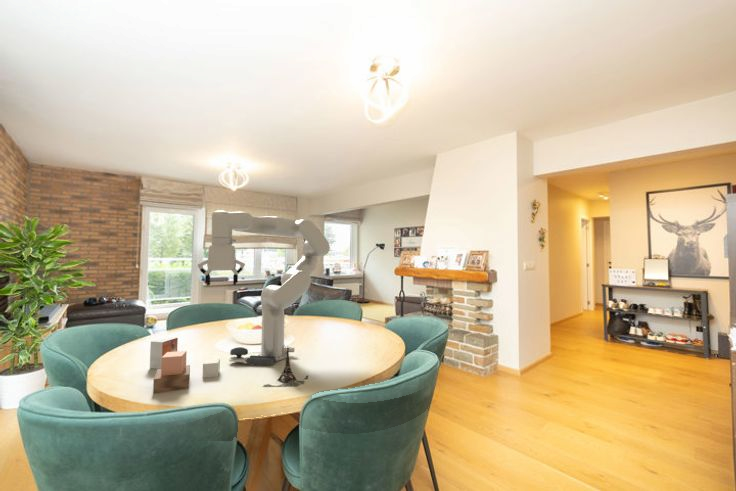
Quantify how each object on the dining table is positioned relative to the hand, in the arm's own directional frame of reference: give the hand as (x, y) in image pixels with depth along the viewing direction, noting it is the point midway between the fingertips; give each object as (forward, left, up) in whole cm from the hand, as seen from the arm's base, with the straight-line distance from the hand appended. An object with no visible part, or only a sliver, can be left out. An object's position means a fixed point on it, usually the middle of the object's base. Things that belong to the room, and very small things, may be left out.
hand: (221, 284), depth 128 cm
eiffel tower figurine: (-25, +20, -34) cm, 46 cm away
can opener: (-12, -2, -33) cm, 35 cm away
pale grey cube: (+2, +7, -33) cm, 34 cm away
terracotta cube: (+12, +14, -28) cm, 34 cm away
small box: (+22, -8, -33) cm, 40 cm away
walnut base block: (+13, +14, -33) cm, 38 cm away
